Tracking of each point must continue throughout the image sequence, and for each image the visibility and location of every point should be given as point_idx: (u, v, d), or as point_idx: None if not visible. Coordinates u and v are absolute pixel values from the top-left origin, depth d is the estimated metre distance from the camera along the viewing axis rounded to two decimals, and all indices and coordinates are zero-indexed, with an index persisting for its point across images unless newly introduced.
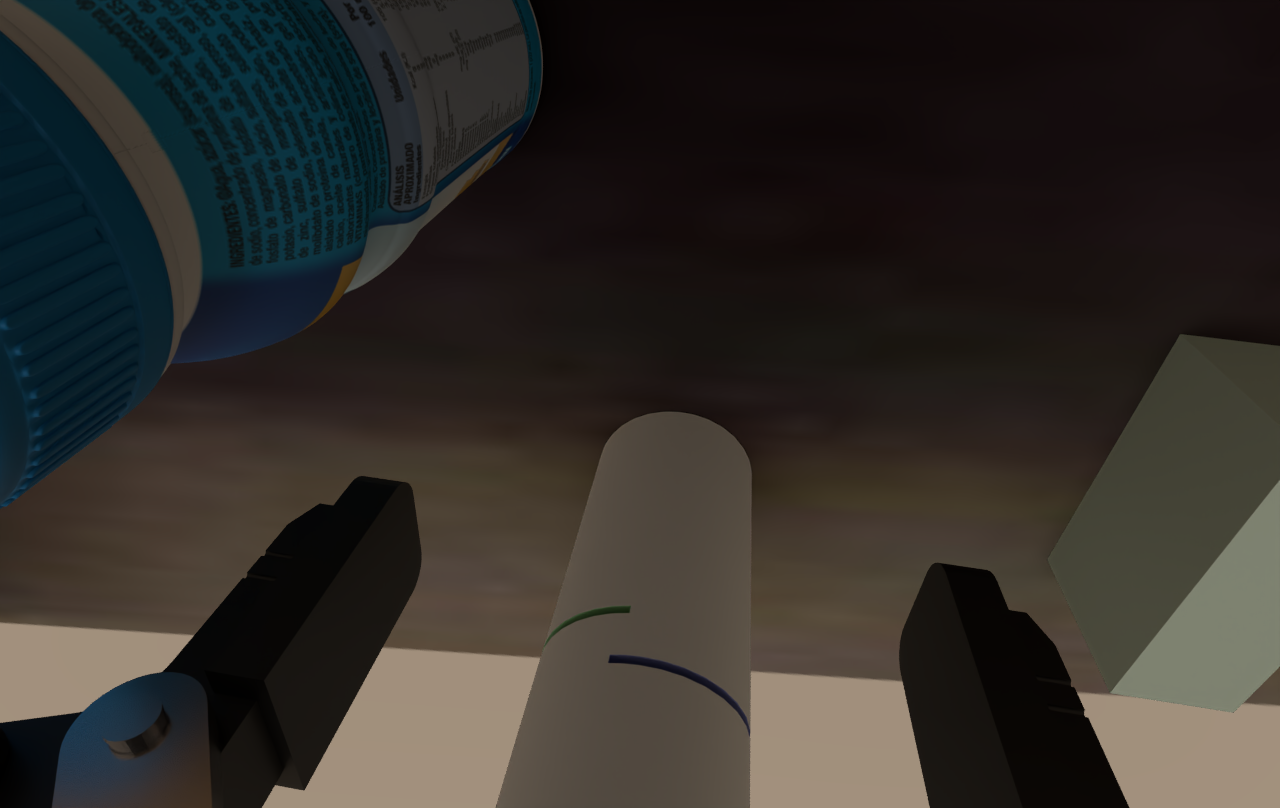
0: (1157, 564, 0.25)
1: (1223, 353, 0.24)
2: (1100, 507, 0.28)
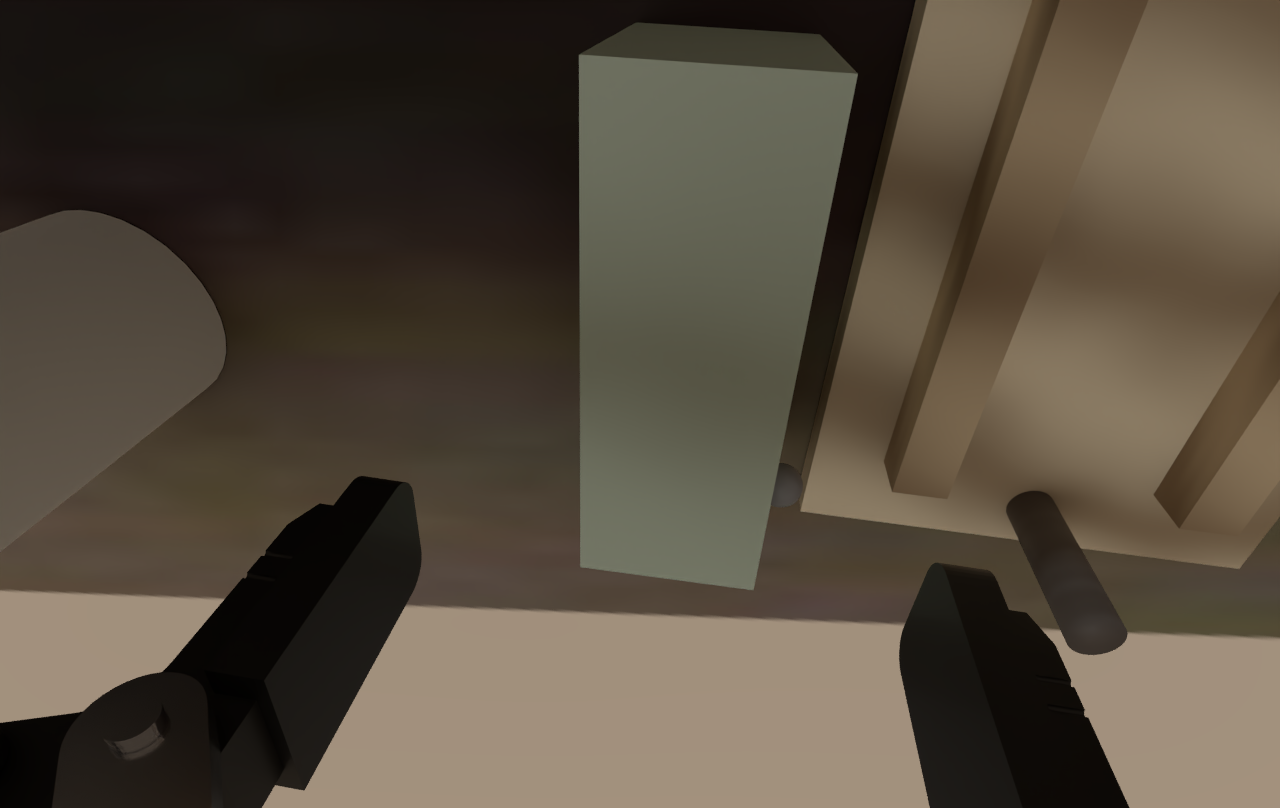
0: None
1: (665, 28, 0.16)
2: None
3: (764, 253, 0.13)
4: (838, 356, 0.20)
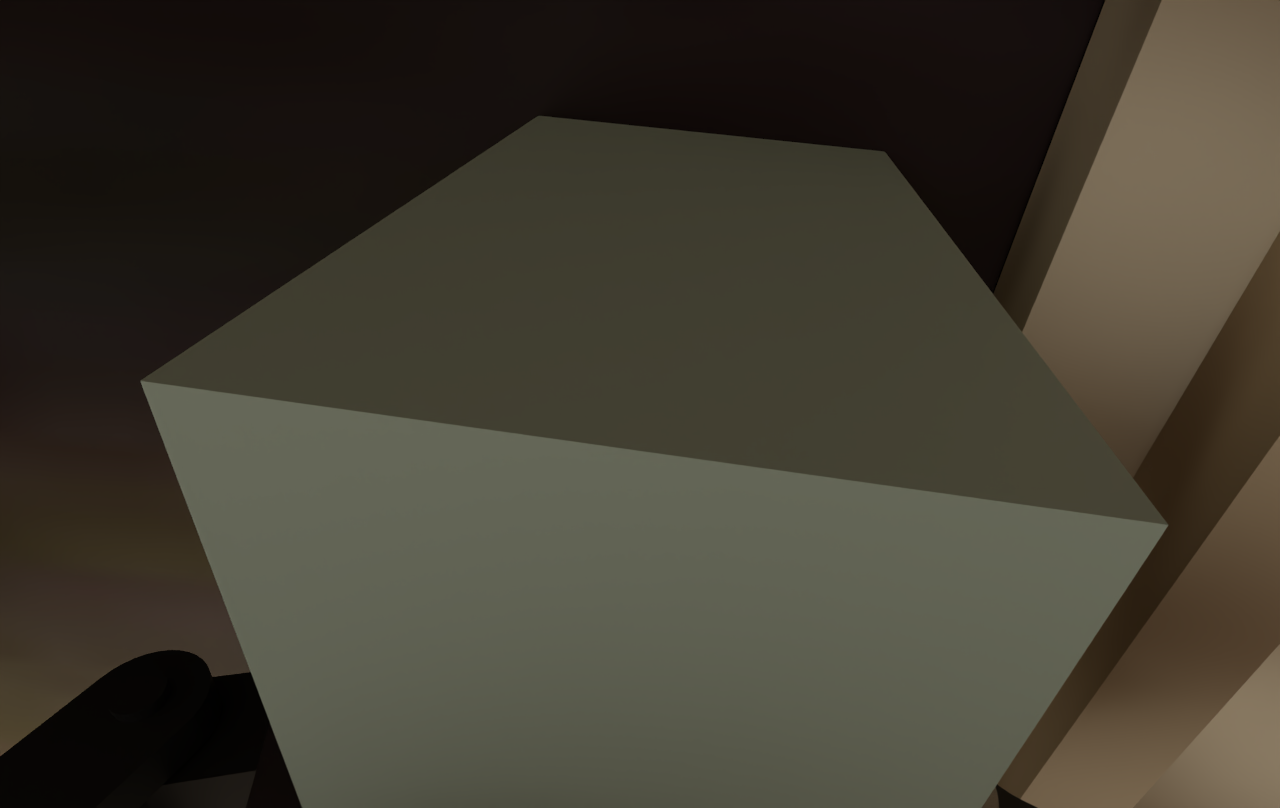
0: None
1: (581, 143, 0.08)
2: None
3: None
4: None
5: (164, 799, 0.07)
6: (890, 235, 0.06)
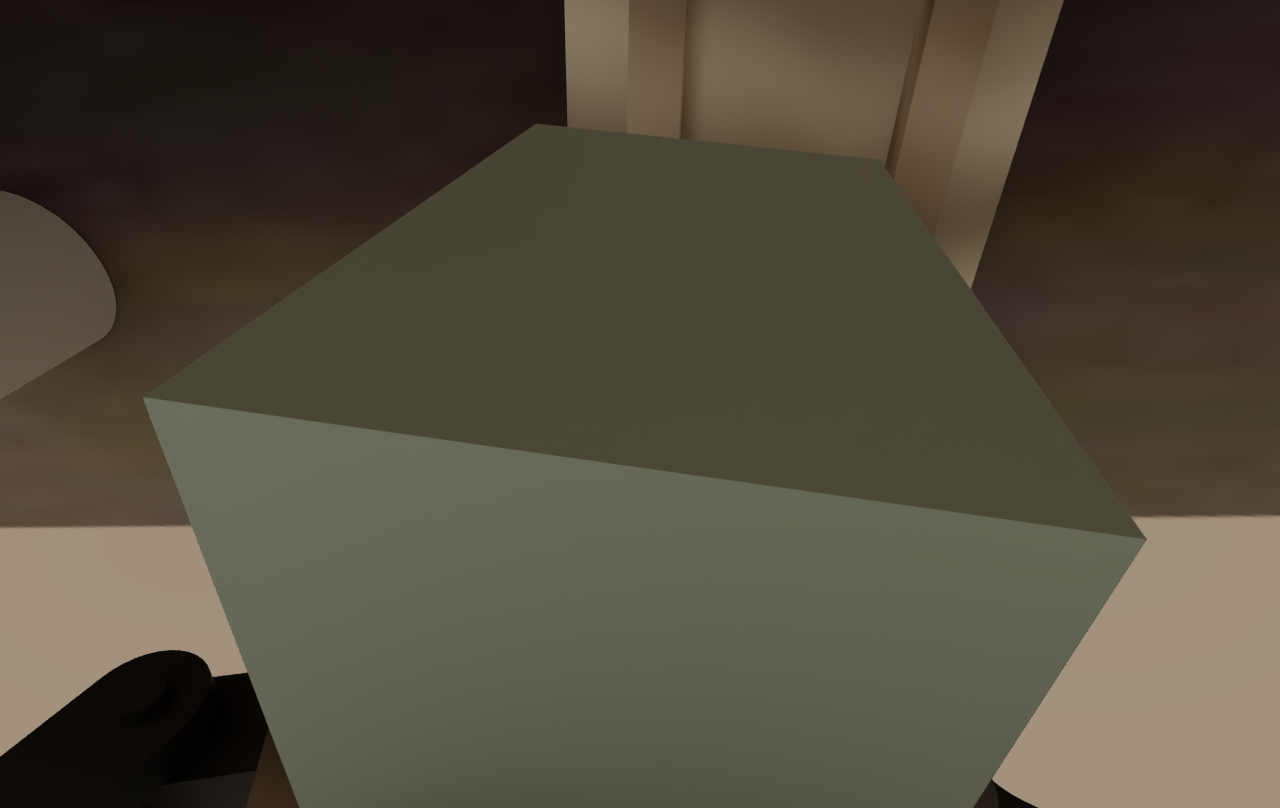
0: None
1: (578, 152, 0.08)
2: None
3: None
4: None
5: (164, 799, 0.07)
6: (882, 246, 0.06)
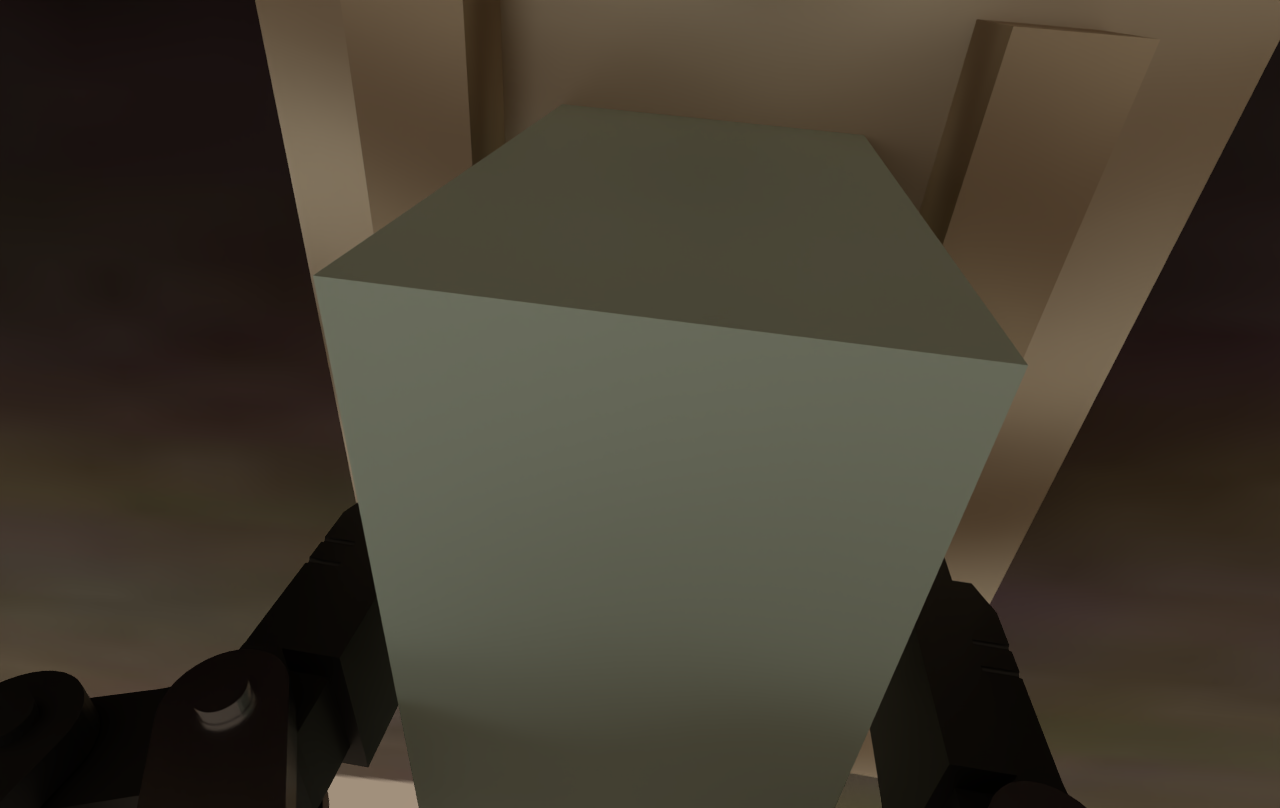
0: None
1: (601, 126, 0.09)
2: None
3: (766, 662, 0.06)
4: None
5: None
6: (860, 196, 0.07)
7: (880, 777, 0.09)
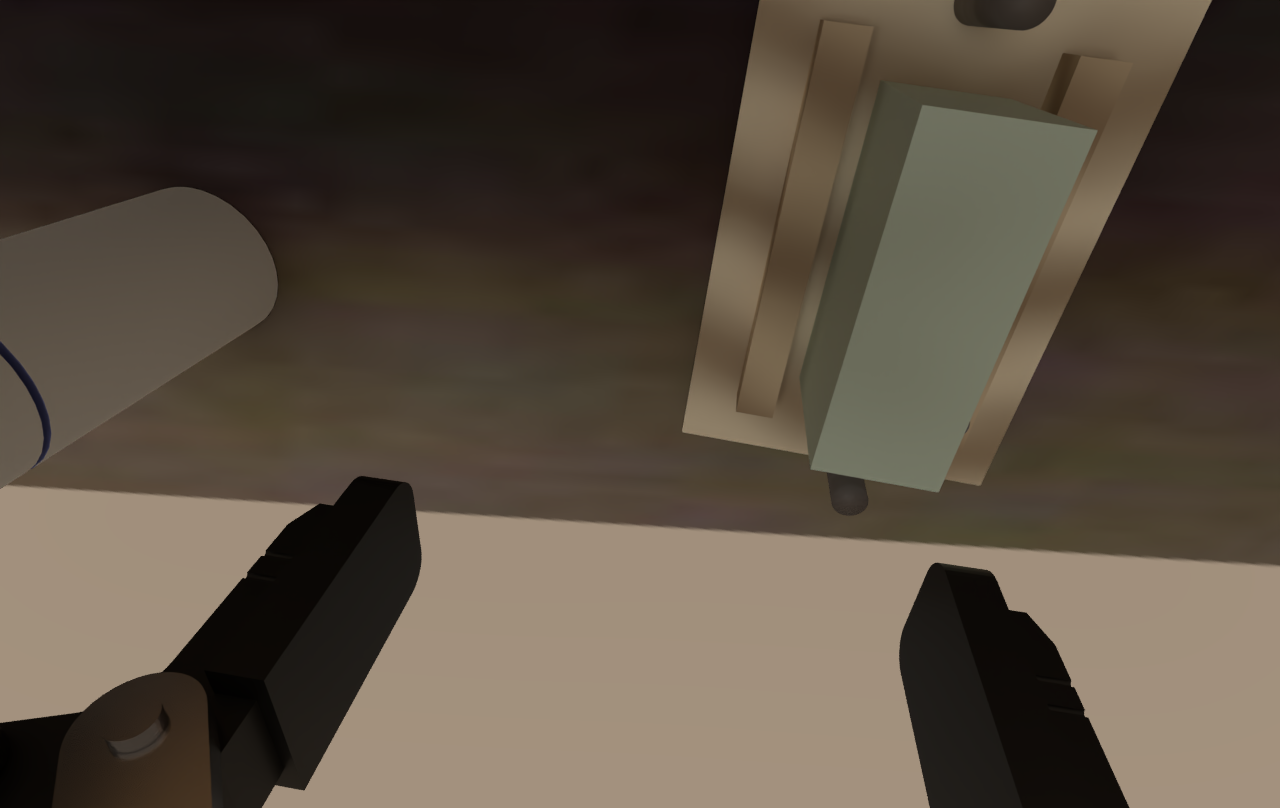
0: (845, 312, 0.23)
1: (912, 87, 0.23)
2: (827, 294, 0.27)
3: (1010, 239, 0.19)
4: None
5: None
6: (1030, 109, 0.21)
7: None
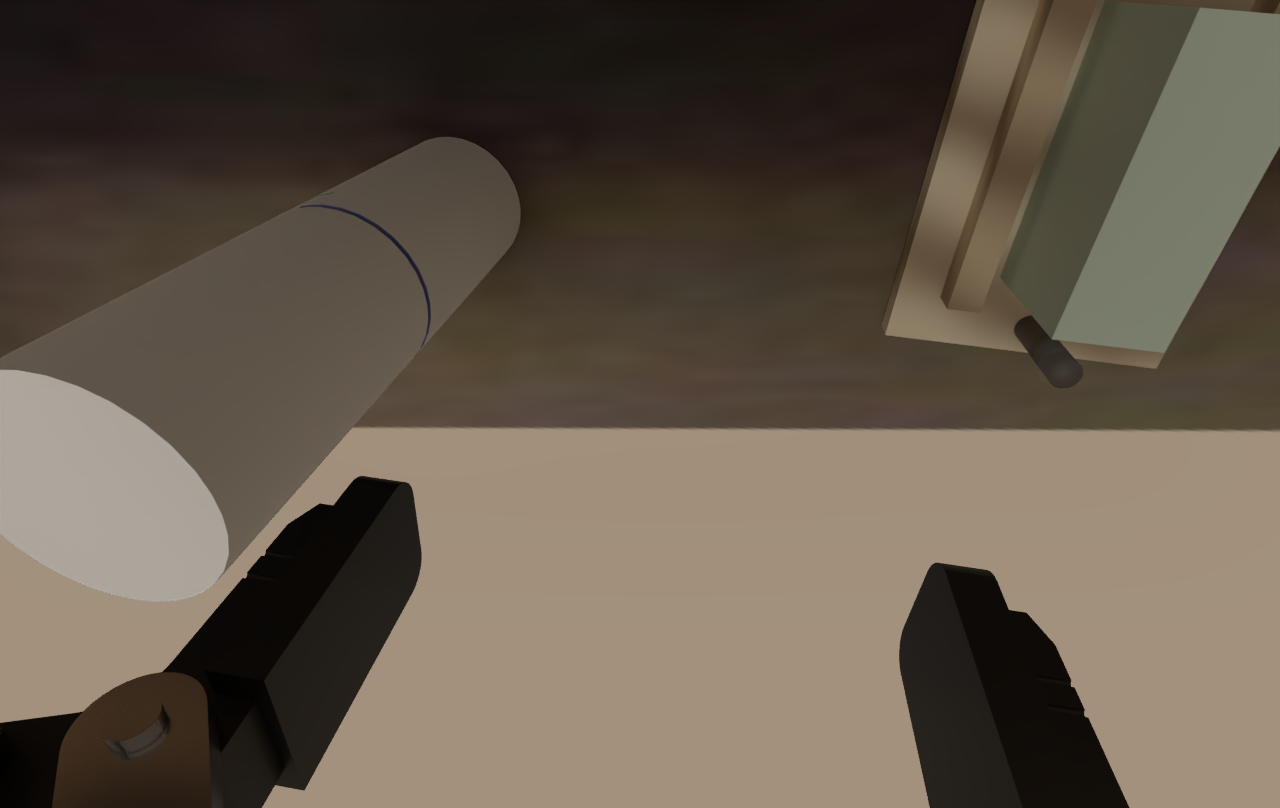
0: (1088, 200, 0.27)
1: None
2: (1043, 195, 0.31)
3: (1259, 120, 0.23)
4: (917, 226, 0.34)
5: None
6: None
7: None
